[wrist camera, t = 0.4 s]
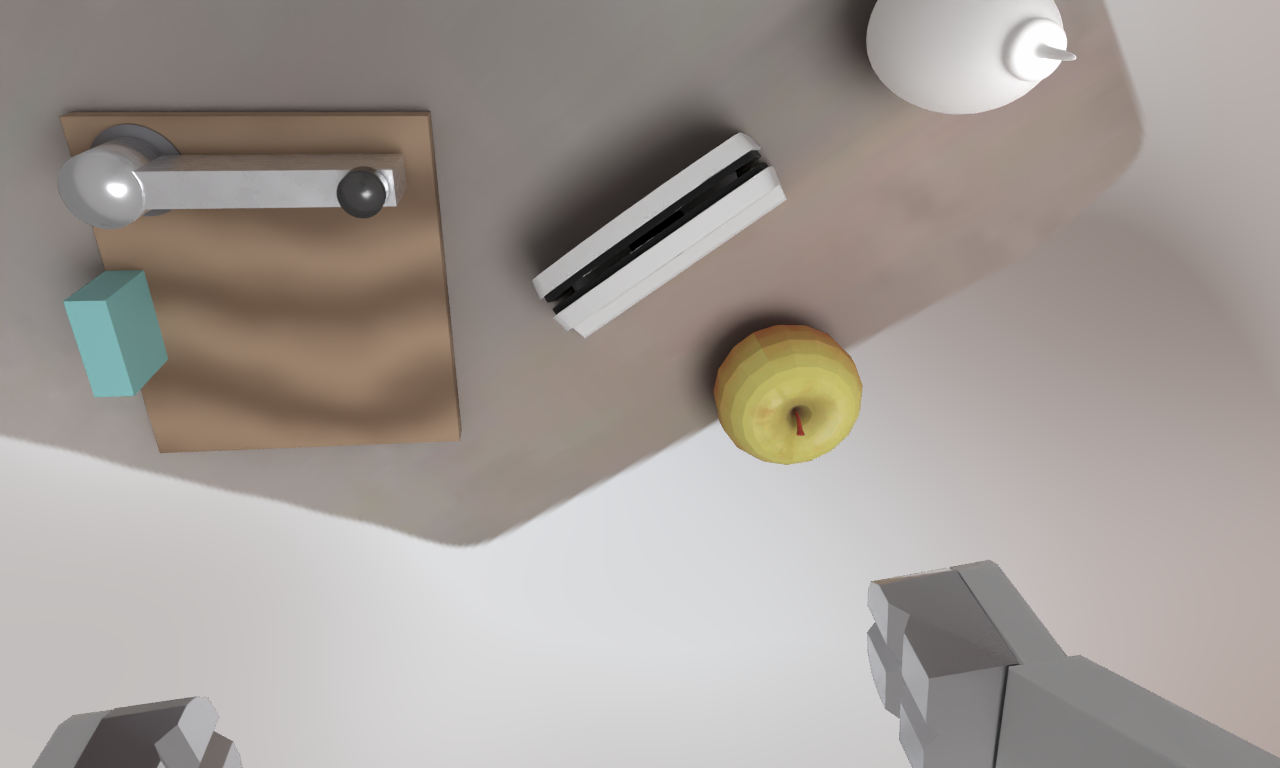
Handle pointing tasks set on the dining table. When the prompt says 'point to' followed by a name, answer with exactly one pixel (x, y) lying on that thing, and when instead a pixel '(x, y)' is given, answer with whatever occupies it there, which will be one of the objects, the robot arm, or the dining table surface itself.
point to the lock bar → (222, 182)
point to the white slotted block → (661, 236)
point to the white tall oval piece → (964, 50)
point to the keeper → (117, 332)
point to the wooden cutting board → (291, 291)
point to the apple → (787, 394)
